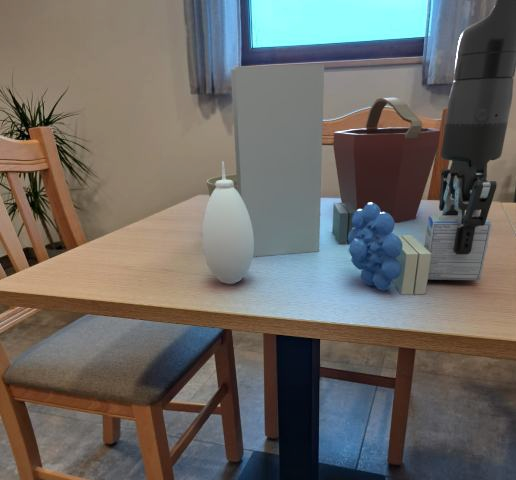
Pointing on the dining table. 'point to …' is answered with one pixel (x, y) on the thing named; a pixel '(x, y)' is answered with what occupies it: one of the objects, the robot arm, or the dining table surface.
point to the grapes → (375, 246)
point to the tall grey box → (280, 154)
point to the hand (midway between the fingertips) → (454, 247)
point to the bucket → (386, 162)
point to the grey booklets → (342, 221)
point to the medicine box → (442, 246)
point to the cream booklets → (412, 267)
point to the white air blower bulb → (227, 233)
